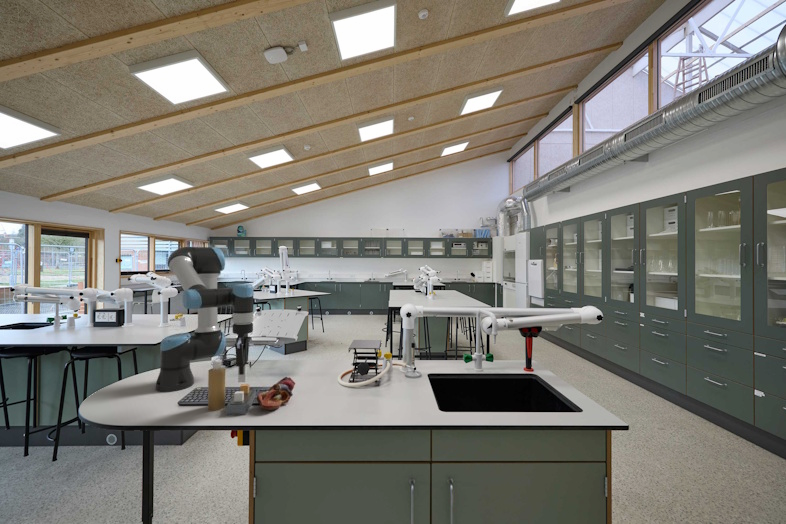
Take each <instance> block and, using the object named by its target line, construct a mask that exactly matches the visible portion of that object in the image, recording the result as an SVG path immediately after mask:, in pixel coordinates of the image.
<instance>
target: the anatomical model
mask: <svg viewBox="0 0 786 524" xmlns="http://www.w3.org/2000/svg"><path fill="white" fill-rule="evenodd" d="M295 385H296V382H295V381H294V380H293V379H292V378H291V377H288V376H285V377H283V378H282V379H280V380H279V381H277V382H276V383H275V384H273V385H272V386H271V387H270V388H269V389H267V390H266V391H263V392H260V393H258V395H256V400H257V403H258V404H259V406H260V407H261V408H262V409H263V410H272V411H274V410H276V409H279V408H280V407H281V405H284V404H288V403H289V401H290V399H291V398H292V397H293V395H294V393H293V392H292V391H293V389H294V388H295Z"/></svg>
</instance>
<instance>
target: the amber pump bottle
mask: <svg viewBox="0 0 786 524" xmlns="http://www.w3.org/2000/svg"><path fill="white" fill-rule="evenodd" d="M207 372H208V373H207V374H208V375H207V376H208V378H207V379H208V381H207V382H208V383H207V387H208V389H207V395H208V396H207V409H208V411H210V412H211V411H213V412H215V411H221V410H222V409H224V408H226V368H225V367H222V361H220V360H217V361H213V362H212V368H210V369H209V370H208V371H207Z"/></svg>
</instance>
